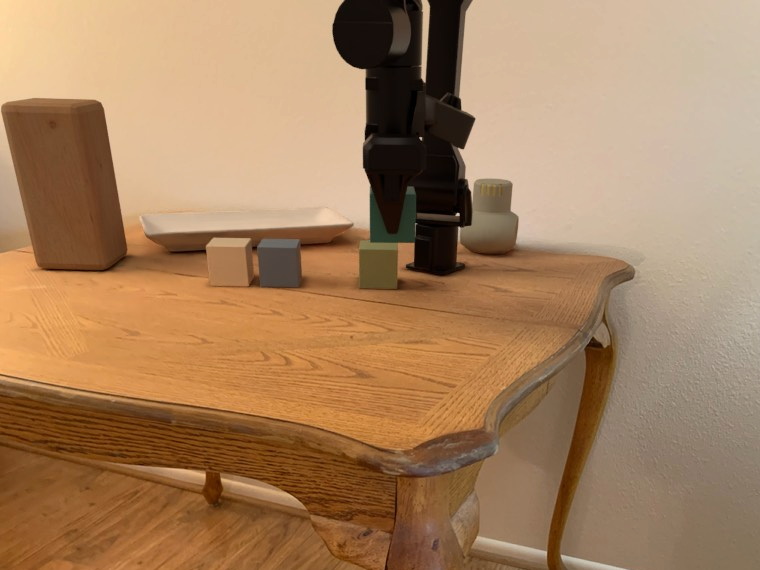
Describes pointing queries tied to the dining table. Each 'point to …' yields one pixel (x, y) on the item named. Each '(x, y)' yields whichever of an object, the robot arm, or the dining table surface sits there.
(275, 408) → the dining table surface
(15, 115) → the wooden block
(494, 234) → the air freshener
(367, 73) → the robot arm
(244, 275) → the cream block
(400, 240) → the teal block
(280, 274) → the slate block
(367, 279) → the sage block
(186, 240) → the tray
